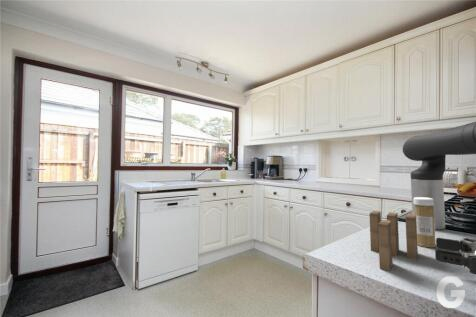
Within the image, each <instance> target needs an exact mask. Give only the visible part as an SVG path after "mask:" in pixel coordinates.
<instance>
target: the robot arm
mask: <svg viewBox="0 0 476 317" xmlns="http://www.w3.org/2000/svg"><path fill="white" fill-rule="evenodd" d="M402 153H403V155H404V157H406V158H407V159H408V160H411V161H414V162H421V165H420V166H419V168H418V167H417V169H416V168H415V169H414V170H412V171H410V190H411V191H410V192H411V193H410V194H411V211H412V212H411V214H413V215H415V206H414V198H415V197H426V198H432V199H434V205H433V206H434V207H433V211H434V224H435V230H445V229H446V215H445V214H446V213H445V209H446V208H445V194H444V193H445V192H444V179H443V178H444V173H445V171H446V159H447V158H446V155H447V156H455V155H456V156H460V155H461V156H462V155H463V156H465V155H466V156H467V155H476V121H473V122H468V123H466V124H463V125H459V126H455V127H452V128H449V129H445V130H442V131H439V132H435V133H431V134H424V135H415V136H412V137H409V138H408V139H407V140H406V141H405V142H404V143H403V145H402ZM435 244H436V247H435V248H436V249H435V251H434V252H435V256H434V257H435V260H436V261H437V262H440V263H444V264H449V265H454V266H458V267H459V266H460V267H463V268H464V269H466V270H469V273H470V274H473V275H476V239H474V238H468V237H464V238H463V239H459V240H457V239H450V238H443V237H435Z"/></svg>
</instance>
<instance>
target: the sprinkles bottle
mask: <svg viewBox="0 0 476 317" xmlns="http://www.w3.org/2000/svg"><path fill="white" fill-rule="evenodd" d="M433 205H434V199H432V198H426V197H415V198H414V206H415V215H416V224H417V246H420V247H424V248H437V247H436V229H435V224H434V211H433V207H434V206H433Z"/></svg>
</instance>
